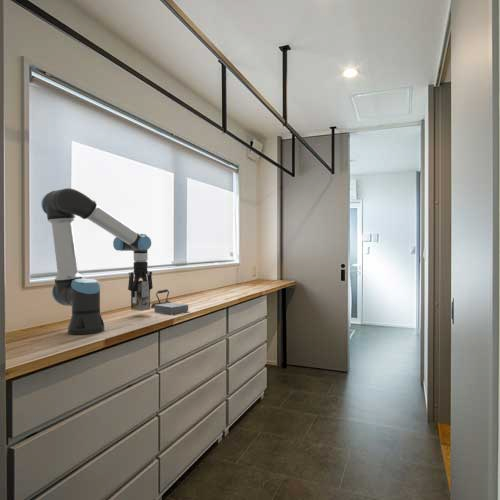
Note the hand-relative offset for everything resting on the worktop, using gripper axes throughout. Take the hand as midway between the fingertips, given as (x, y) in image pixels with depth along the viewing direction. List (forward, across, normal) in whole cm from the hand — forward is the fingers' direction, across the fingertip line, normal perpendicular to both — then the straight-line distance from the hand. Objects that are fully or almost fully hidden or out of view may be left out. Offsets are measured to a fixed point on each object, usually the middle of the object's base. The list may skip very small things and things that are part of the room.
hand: (140, 302), depth 206 cm
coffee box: (+4, 0, 0) cm, 4 cm away
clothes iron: (+7, -28, -16) cm, 33 cm away
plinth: (+7, -18, +5) cm, 19 cm away
